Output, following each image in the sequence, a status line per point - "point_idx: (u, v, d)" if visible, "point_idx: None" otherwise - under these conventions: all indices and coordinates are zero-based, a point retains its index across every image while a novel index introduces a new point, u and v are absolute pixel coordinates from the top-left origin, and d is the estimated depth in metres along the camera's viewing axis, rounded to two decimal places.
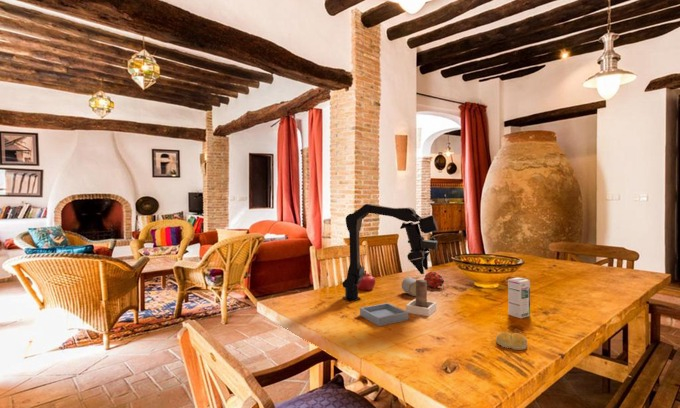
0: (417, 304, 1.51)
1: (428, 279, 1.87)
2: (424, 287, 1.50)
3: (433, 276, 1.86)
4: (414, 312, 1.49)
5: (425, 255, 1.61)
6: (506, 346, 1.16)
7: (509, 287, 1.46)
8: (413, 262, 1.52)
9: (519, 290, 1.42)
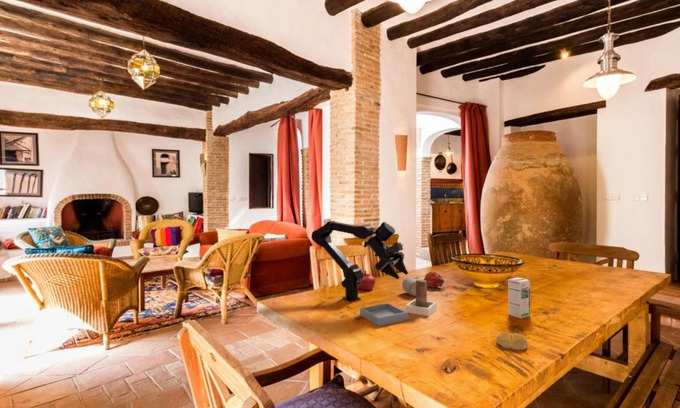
0: (417, 304, 1.51)
1: (428, 279, 1.87)
2: (424, 287, 1.50)
3: (433, 276, 1.86)
4: (414, 312, 1.49)
5: (400, 261, 1.62)
6: (506, 346, 1.16)
7: (509, 287, 1.46)
8: (384, 271, 1.54)
9: (519, 290, 1.42)
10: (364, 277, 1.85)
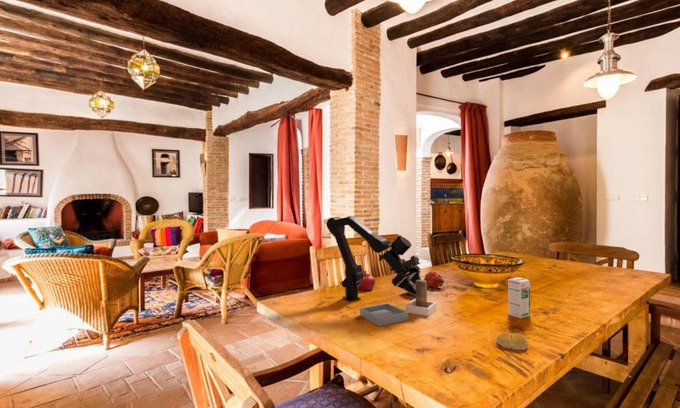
0: (417, 304, 1.51)
1: (428, 279, 1.87)
2: (424, 287, 1.50)
3: (433, 276, 1.86)
4: (414, 312, 1.49)
5: (416, 275, 1.58)
6: (507, 346, 1.16)
7: (509, 287, 1.46)
8: (401, 286, 1.50)
9: (519, 290, 1.42)
10: (364, 277, 1.85)
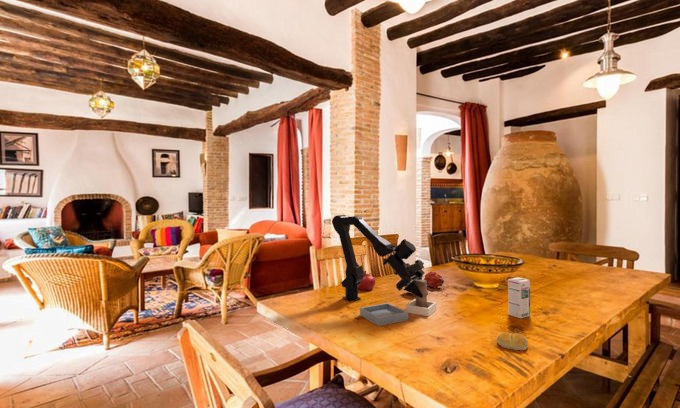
0: (417, 304, 1.51)
1: (428, 279, 1.87)
2: (424, 287, 1.50)
3: (433, 276, 1.86)
4: (414, 312, 1.49)
5: None
6: (507, 347, 1.15)
7: (509, 287, 1.46)
8: (408, 289, 1.51)
9: (519, 290, 1.42)
10: (364, 277, 1.85)
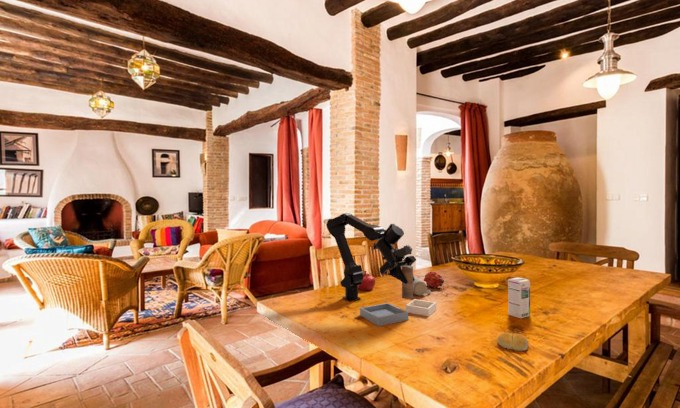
0: (402, 290, 1.47)
1: (428, 279, 1.87)
2: (409, 273, 1.46)
3: (433, 276, 1.86)
4: (414, 312, 1.49)
5: None
6: (508, 347, 1.15)
7: (509, 287, 1.46)
8: (393, 274, 1.48)
9: (519, 290, 1.42)
10: (364, 277, 1.85)
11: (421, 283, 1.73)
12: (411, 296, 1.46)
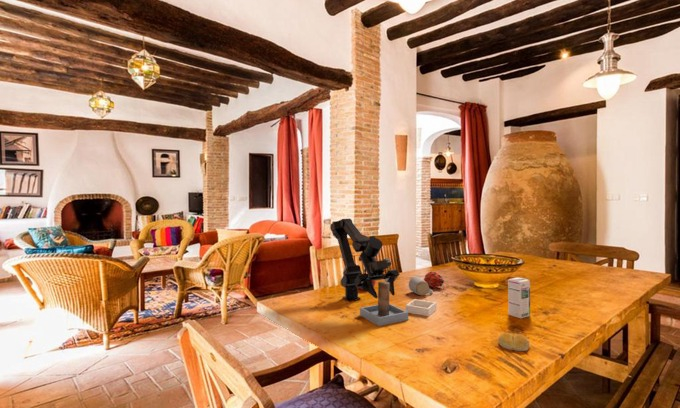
0: (378, 306, 1.45)
1: (428, 279, 1.87)
2: (384, 289, 1.43)
3: (433, 276, 1.86)
4: (414, 312, 1.49)
5: (389, 280, 1.49)
6: (508, 347, 1.15)
7: (509, 287, 1.46)
8: (365, 288, 1.46)
9: (519, 290, 1.42)
10: None
11: (423, 283, 1.73)
12: (385, 313, 1.43)
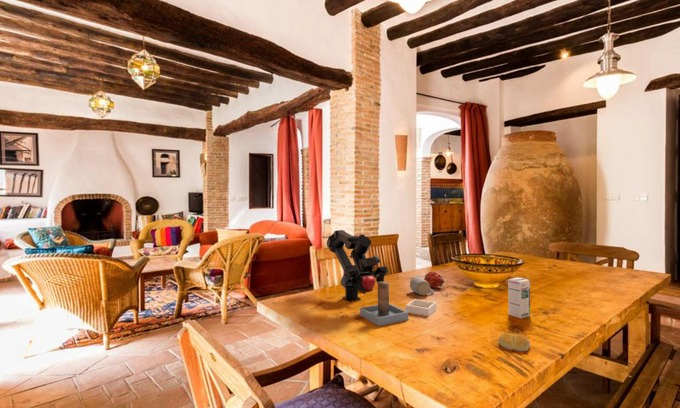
0: (378, 306, 1.45)
1: (428, 279, 1.87)
2: (383, 289, 1.43)
3: (433, 276, 1.86)
4: (414, 312, 1.49)
5: (379, 276, 1.56)
6: (509, 347, 1.15)
7: (509, 287, 1.46)
8: (354, 284, 1.53)
9: (519, 290, 1.42)
10: (364, 277, 1.85)
11: (424, 283, 1.74)
12: (385, 313, 1.43)
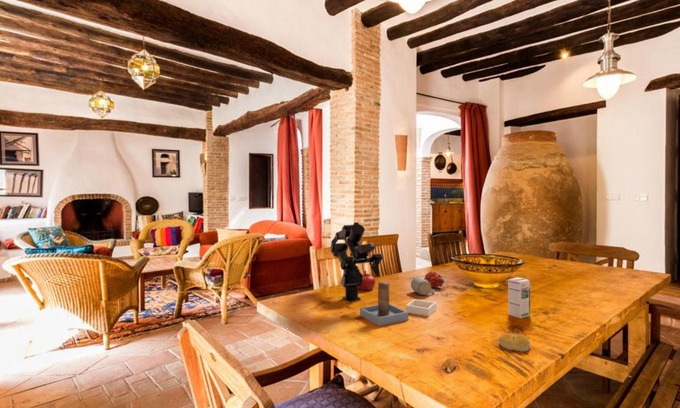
0: (378, 306, 1.45)
1: (428, 279, 1.87)
2: (384, 290, 1.43)
3: (433, 276, 1.86)
4: (414, 312, 1.49)
5: (374, 263, 1.59)
6: (509, 348, 1.15)
7: (509, 287, 1.46)
8: (349, 270, 1.56)
9: (519, 290, 1.42)
10: (364, 277, 1.85)
11: (425, 283, 1.74)
12: (385, 313, 1.43)
